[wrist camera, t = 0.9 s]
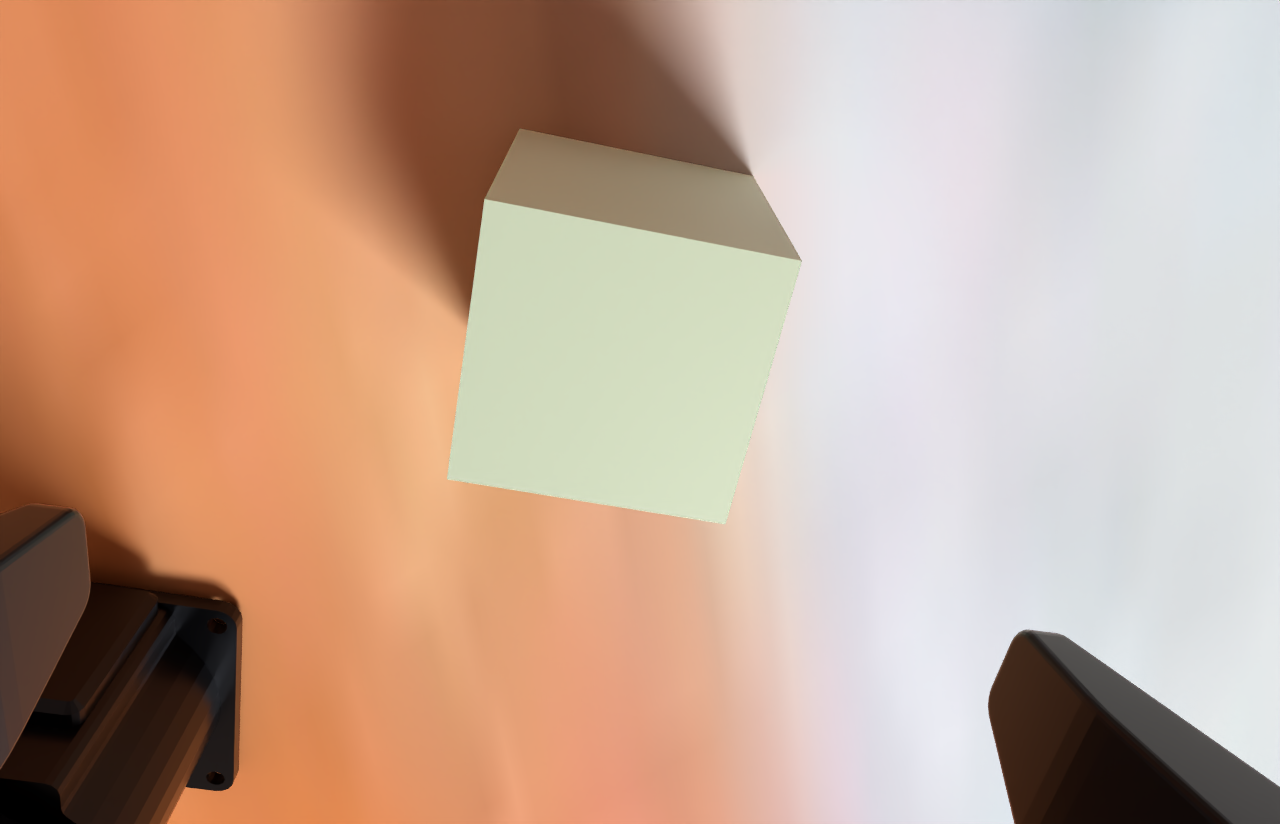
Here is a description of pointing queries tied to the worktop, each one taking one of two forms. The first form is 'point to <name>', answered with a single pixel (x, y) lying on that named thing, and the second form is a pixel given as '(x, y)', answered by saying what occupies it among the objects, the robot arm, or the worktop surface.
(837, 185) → the worktop surface
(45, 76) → the worktop surface
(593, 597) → the worktop surface
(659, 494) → the cream block
